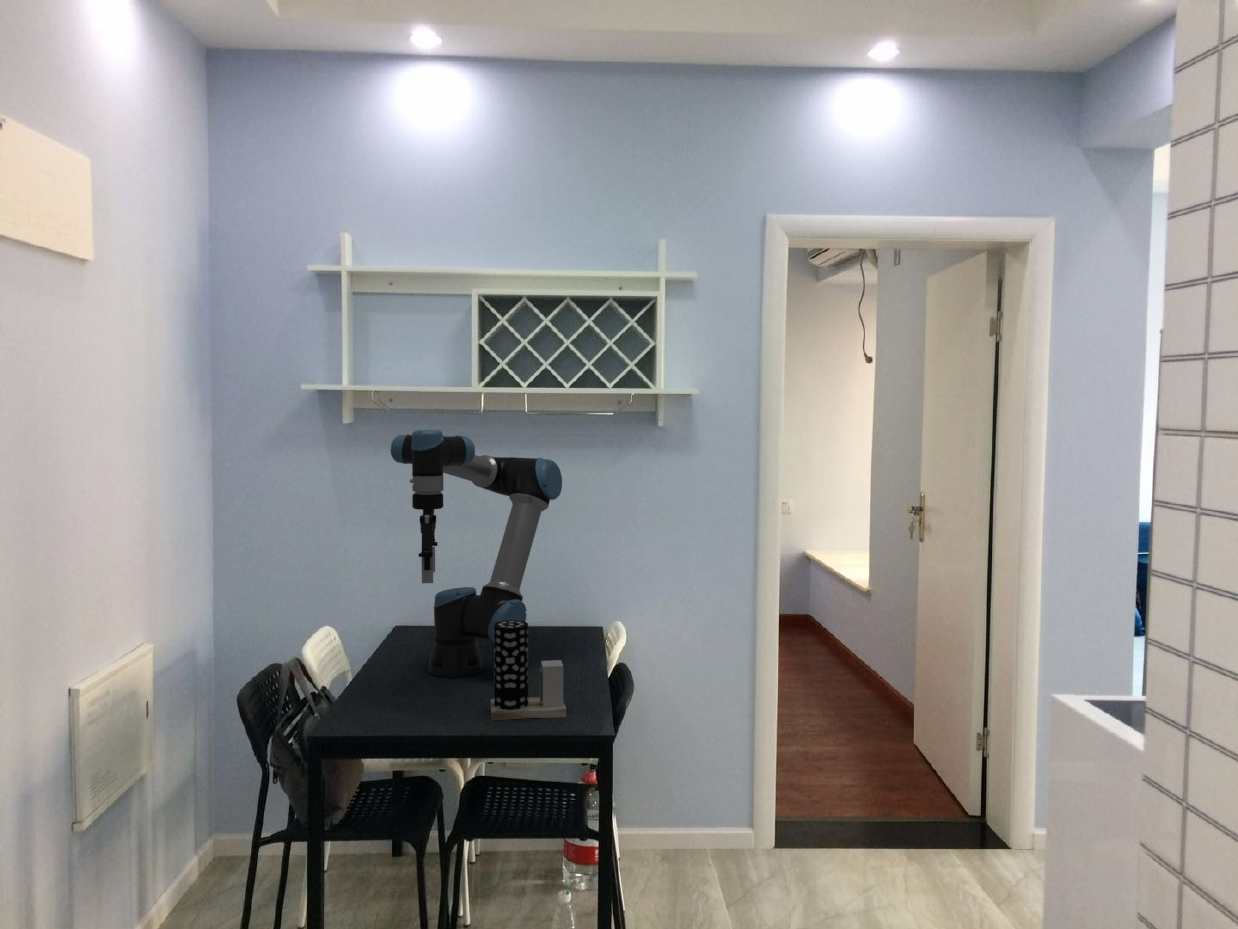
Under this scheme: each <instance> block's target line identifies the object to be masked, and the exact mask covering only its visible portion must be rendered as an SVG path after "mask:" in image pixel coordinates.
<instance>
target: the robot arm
mask: <svg viewBox="0 0 1238 929" xmlns="http://www.w3.org/2000/svg"><path fill="white" fill-rule="evenodd" d="M390 455H391V458H392V459H393V460H394V461H395V462H396V463H399V464H404V465H407V464H409V465H412V467H411V470H412V471H411V474H412V475H411V478H410V479H409V483H410V484H412V485H411V486H412V487H411V488H412V492H414V493H413V494H412V498H411V500H412V502H411V503H412V504H411V505H412V508H413V509H414V510H419V511H420V510H422V515H421V514H420V515H419V524H420V528H419V530H420V533H421V552H420V553H419V552H418V558H421V584H434V573H436V547H438V541H436V538H435V533H436V532H435V531H436V528H437V526H436V525H437V514H435V510H440V509H443V508H444V494H443V493H442V492H443V491H444V474H446V475H449V476H453V477H456V478H460V479H463V480H466V481H469V482H471V483H472V484H473V485H474V486H475V487H478V488H481V489H483V490H487V491H491V492H493V493H494V494H495V493H496V494H499V495H502V496H506V497H509V500H510V502H511V504H512V505H511V509H510V512H509V515H508V518H507V523H506V526H505V529H504V533H503V536H502V539H501V543H500V546H499V549H498V553H497V556H496V560H495V564H494V565H493V566H494V567H493V569H492V573H491V577H490V580H489V582H488V583H486V584H484V585H482V587H481V588H482V589H481V592H480V594H477V589H476V588H475V587H471V586H466V587H465V586H463V587H454V588H449V589H443V590H442V591H439V592H437V593H436V594H435V595H434V603H433V604H434V605H433V613H434V614H433V617H434V618H433V619H434V620H433V622H434V623H433V624H434V626H433V628H434V645H433V648H432V651H431V654H430V656H429V657H430V658H429V661H428V672H429V673H430V674H431V675H434V676H436V677H443V678H460V677H468V676H473V675H475V674H478V673H480V672H481V671H482V670H484V669H483V664H484V660H483V658H482V655H481V653H480V648H479V646H478V642H477V638H478V639H484V640H489V641H490V640H491V641H493V642H494V624H495V623H496V622H500V621H505V620H519V621H525V622H527V621H526V620H527V615H528V614H527V607H526V605H525V603H524V602H523V600H524V599H523V598H524V597H523V594H522V593H521V585H522V582H523V579H524V574H525V571H526V568H527V566H528V565H527V564H528V561H529V557H530V554H531V551H532V547H533V543H534V540H535V536H536V533H537V532H536V531H537V529H538V524H539V521H540V518H541V514H542V512H544V511H546V510H547V509H549V506H550V502H551V501H553V500H556V499H558V497H559V496H560V495H561V492H562V490H563V476H562V472H561V469H560V467H559V465H558V464H557V463H556V462H555V461H554V460H552V459H550V458H549V459H547V458H541V457H538V458H534V457H532V458H531V457H516V456H509V457H507V456H506V457H505V456H503V457H502V456H498V457H497V456H490V455H487V454H483V455H480V456H479V455H477V454H476V446H475V444H474V442H473V440H472V439H471V438H469V437H468V436H465V435H455V436H454V435H453V436H446V435H444V436H443V431H441V429H416V430H414V431H413V432H412V434H401V435H398V436H395V437H394V439H393V440H392V442H391V445H390Z"/></svg>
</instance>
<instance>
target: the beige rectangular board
mask: <svg viewBox="0 0 1238 929" xmlns="http://www.w3.org/2000/svg"><path fill="white" fill-rule="evenodd" d="M490 717H491V718H492V719H491V721H492V720H503V721H508V720H507V719H523V720H525V719H524V718H542V719H556V718H557V719H559V718H561V717H562V718H567V706H566V704H565V701H564V699H563V706H551V707H543V705H542V701H540V697H539V696H532V697H529V696H528V705H527V706H526V707H524V708H521V709H515V710H504V709H499V708H497V707H495V705H494V698H492V699H490ZM562 718H561V719H562Z"/></svg>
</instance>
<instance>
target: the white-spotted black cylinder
mask: <svg viewBox="0 0 1238 929" xmlns="http://www.w3.org/2000/svg"><path fill="white" fill-rule="evenodd" d="M493 680H494V682H493V685H494V686H493V690H494V691H493V693H494V694H493V696H494V698H493V699H494V705H495V707H497V708H499V709H504V710H515V709H521V708H524V707H526V706H527V705H528V698H529V623H528V622H527V621H519V620H505V621H500V622H496V623H495V624H494V641H493Z"/></svg>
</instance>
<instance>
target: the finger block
mask: <svg viewBox="0 0 1238 929" xmlns="http://www.w3.org/2000/svg"><path fill="white" fill-rule="evenodd" d="M540 665H541V666H540V667H538V697H540V701H542V705H543V707H551V706H563V700H564V664H563V662H562V660H561V659H559V660H541V661H540Z"/></svg>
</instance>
